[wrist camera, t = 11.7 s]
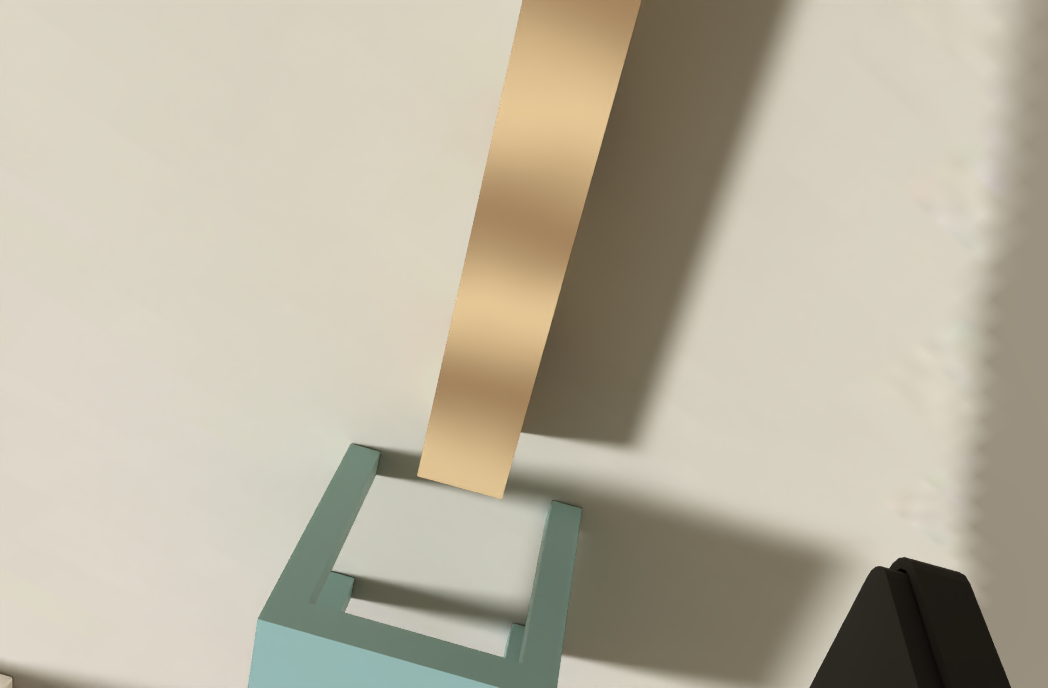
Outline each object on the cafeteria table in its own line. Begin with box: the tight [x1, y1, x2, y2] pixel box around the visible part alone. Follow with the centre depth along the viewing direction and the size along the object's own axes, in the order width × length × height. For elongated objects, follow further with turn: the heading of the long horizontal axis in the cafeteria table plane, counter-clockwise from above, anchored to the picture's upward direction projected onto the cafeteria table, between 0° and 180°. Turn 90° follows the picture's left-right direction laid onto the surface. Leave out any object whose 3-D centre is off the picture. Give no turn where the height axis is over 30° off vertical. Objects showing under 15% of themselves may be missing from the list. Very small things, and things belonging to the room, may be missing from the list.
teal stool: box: [248, 444, 582, 688], centre depth 36 cm, size 8×9×10 cm
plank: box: [417, 0, 642, 499], centre depth 30 cm, size 20×3×4 cm, turn 167°
